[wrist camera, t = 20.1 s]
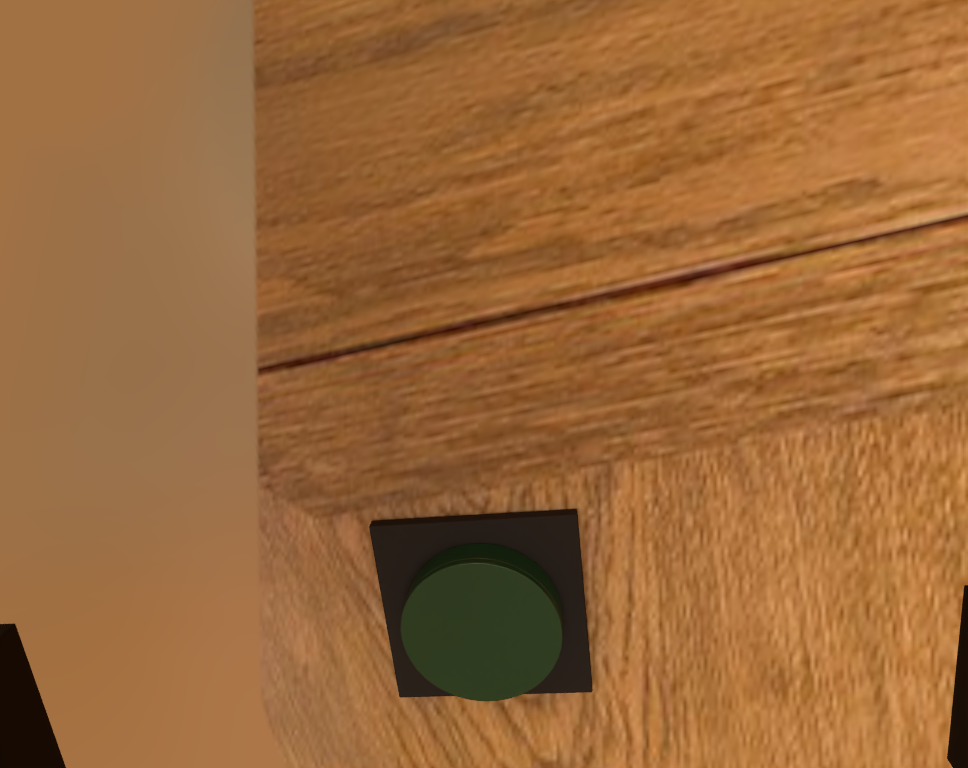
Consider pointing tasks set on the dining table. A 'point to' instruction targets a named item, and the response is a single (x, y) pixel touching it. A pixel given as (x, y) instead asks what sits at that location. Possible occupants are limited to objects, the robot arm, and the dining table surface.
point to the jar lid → (483, 622)
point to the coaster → (529, 533)
